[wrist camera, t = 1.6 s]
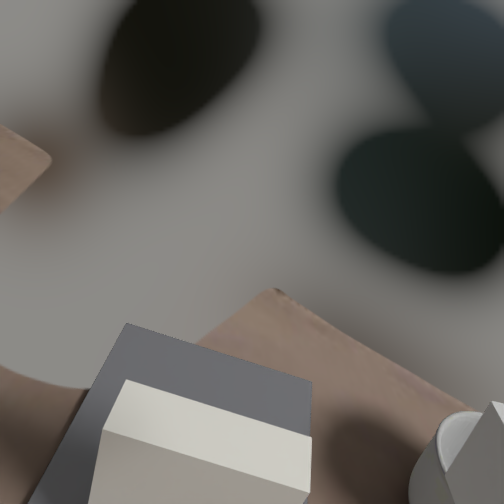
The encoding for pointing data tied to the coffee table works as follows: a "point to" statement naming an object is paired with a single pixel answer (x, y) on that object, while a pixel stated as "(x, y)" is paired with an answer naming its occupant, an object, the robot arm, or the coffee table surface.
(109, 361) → the mat
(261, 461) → the tile
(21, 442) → the coffee table surface
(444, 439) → the teacup
